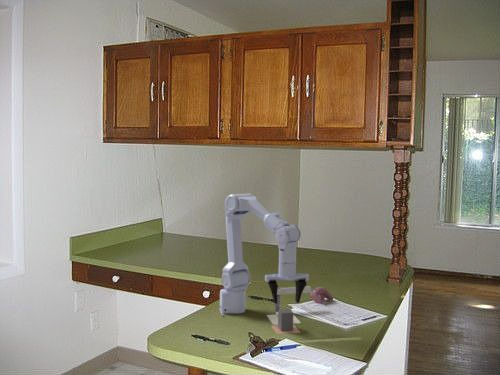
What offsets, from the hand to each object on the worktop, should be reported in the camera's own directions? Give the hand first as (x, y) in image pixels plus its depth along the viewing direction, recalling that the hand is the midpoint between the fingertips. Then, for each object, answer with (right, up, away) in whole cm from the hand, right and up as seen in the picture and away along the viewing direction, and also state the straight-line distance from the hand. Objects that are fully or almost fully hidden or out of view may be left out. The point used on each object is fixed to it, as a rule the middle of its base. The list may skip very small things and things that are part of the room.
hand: (286, 302), depth 172 cm
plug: (0, -9, +1) cm, 9 cm away
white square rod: (+4, -1, +20) cm, 21 cm away
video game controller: (+16, -8, +35) cm, 39 cm away
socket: (-1, -9, +13) cm, 16 cm away
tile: (0, -10, +1) cm, 10 cm away
